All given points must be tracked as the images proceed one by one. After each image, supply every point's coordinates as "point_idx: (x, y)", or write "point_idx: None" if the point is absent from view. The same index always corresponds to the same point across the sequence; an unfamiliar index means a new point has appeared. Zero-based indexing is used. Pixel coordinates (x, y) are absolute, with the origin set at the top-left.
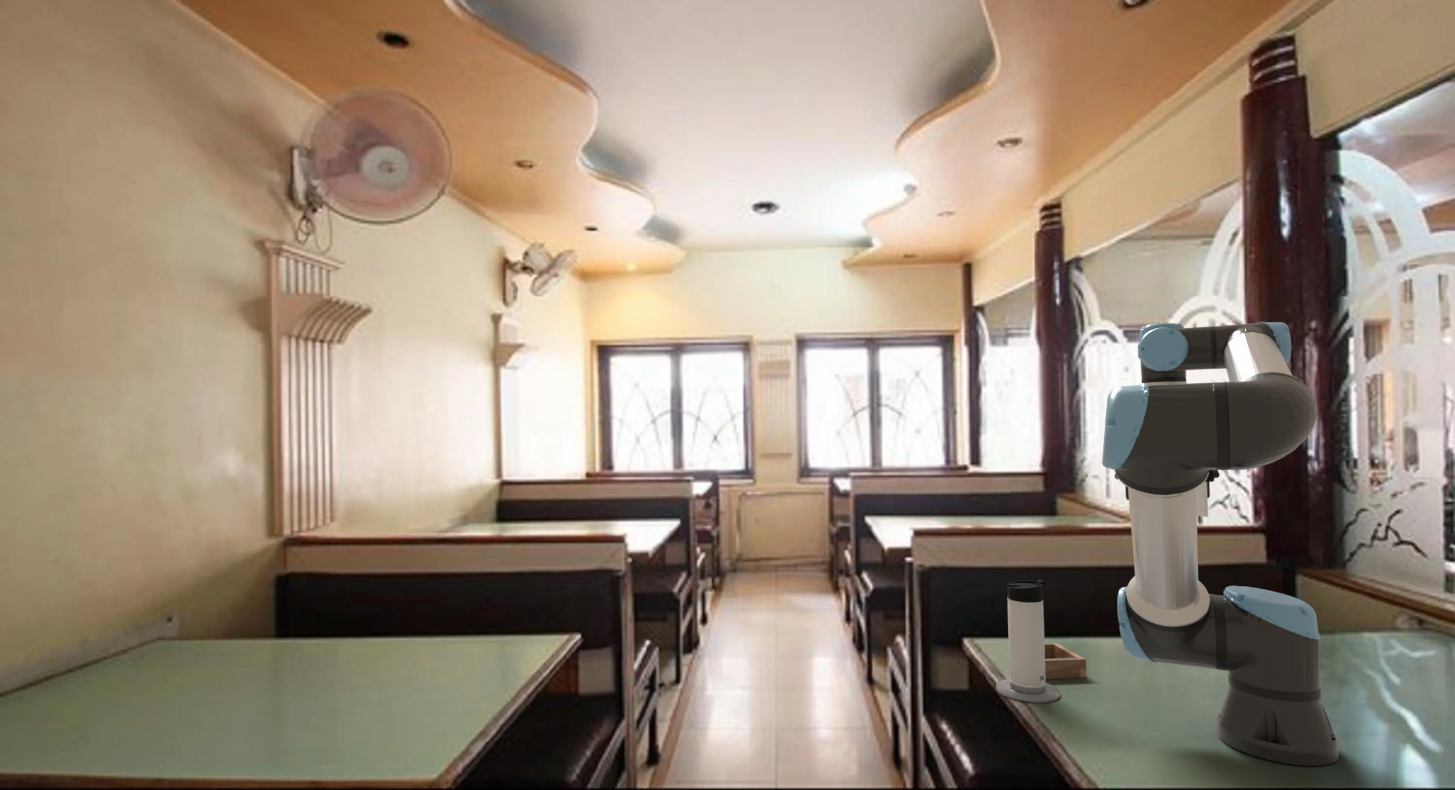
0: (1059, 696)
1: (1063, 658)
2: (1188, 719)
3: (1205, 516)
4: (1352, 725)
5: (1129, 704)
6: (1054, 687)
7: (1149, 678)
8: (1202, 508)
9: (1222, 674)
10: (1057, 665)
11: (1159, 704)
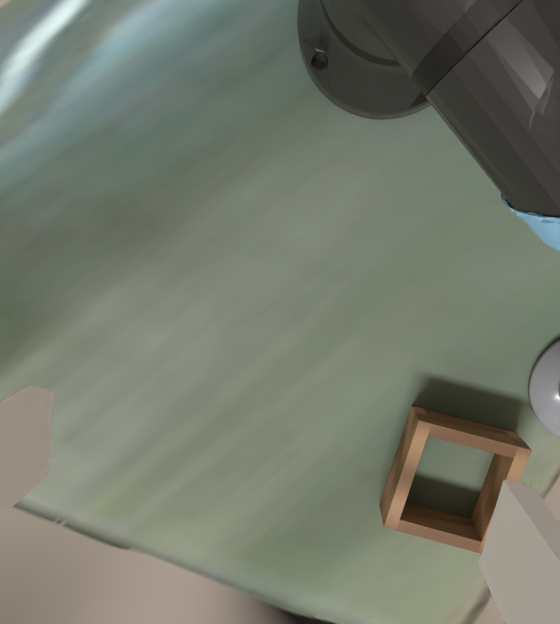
0: (552, 344)
1: (459, 441)
2: (422, 171)
3: (46, 390)
4: (170, 48)
5: (459, 267)
6: (537, 373)
7: (300, 357)
8: (21, 425)
9: (149, 323)
10: (478, 432)
11: (405, 247)
